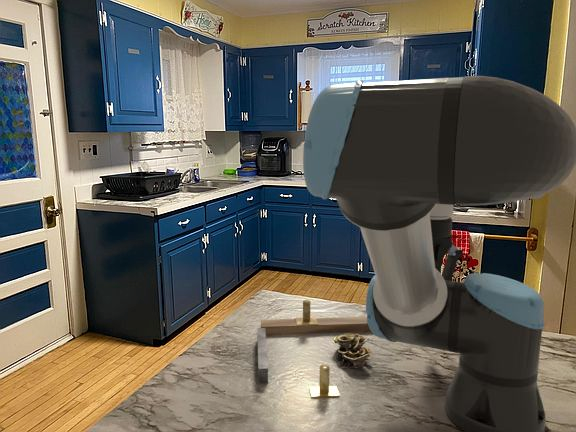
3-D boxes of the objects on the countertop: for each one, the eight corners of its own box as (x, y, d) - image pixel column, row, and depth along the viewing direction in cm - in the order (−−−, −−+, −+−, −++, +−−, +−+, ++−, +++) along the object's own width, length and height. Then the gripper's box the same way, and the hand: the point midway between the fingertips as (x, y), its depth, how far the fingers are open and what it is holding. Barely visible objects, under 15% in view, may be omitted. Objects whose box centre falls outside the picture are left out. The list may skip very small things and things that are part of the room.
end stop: (268, 383, 84) (268, 368, 84) (258, 383, 84) (258, 368, 83) (265, 340, 102) (265, 328, 101) (257, 340, 102) (257, 328, 101)
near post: (339, 396, 80) (339, 371, 79) (311, 397, 79) (312, 372, 78) (336, 387, 83) (336, 362, 82) (309, 388, 82) (309, 363, 81)
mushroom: (371, 371, 89) (371, 351, 88) (333, 369, 90) (333, 349, 89) (367, 344, 100) (368, 326, 100) (334, 342, 101) (334, 325, 101)
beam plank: (385, 330, 107) (386, 302, 106) (261, 334, 105) (260, 305, 103) (380, 323, 111) (381, 296, 110) (260, 327, 109) (260, 299, 107)
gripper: (455, 212, 95) (448, 316, 99) (396, 213, 94) (391, 318, 98) (472, 218, 87) (464, 330, 92) (408, 220, 86) (402, 333, 91)
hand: (426, 324), depth 95 cm, fingers closed
